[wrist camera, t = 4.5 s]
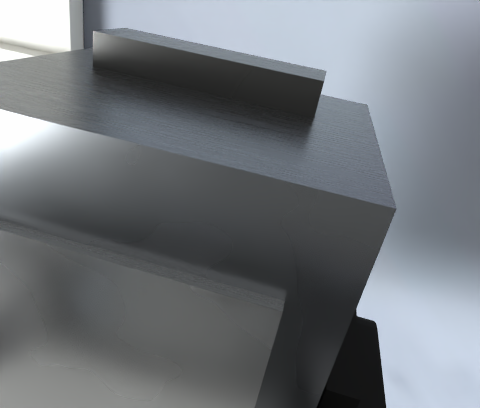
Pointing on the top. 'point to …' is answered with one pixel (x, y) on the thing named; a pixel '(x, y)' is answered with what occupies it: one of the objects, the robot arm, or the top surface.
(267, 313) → the block
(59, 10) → the tray
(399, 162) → the top surface
